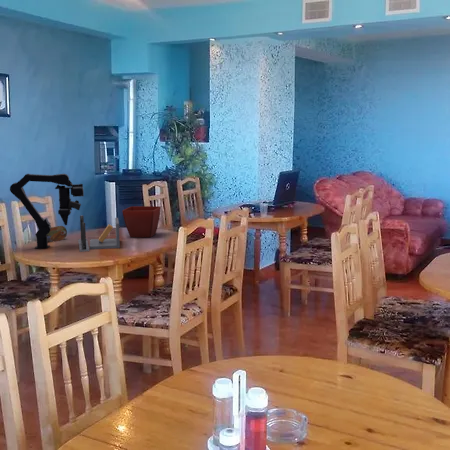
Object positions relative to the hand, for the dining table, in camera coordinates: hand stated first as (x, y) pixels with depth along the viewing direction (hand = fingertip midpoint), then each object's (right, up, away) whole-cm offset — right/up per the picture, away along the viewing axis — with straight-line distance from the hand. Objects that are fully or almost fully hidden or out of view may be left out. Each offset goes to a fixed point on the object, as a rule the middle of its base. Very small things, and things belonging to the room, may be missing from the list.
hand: (65, 225), depth 334 cm
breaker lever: (+18, -9, +5) cm, 20 cm away
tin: (-11, -9, +20) cm, 25 cm away
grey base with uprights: (+20, -11, +6) cm, 24 cm away
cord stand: (+9, -12, +4) cm, 15 cm away
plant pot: (+38, -7, +34) cm, 51 cm away
